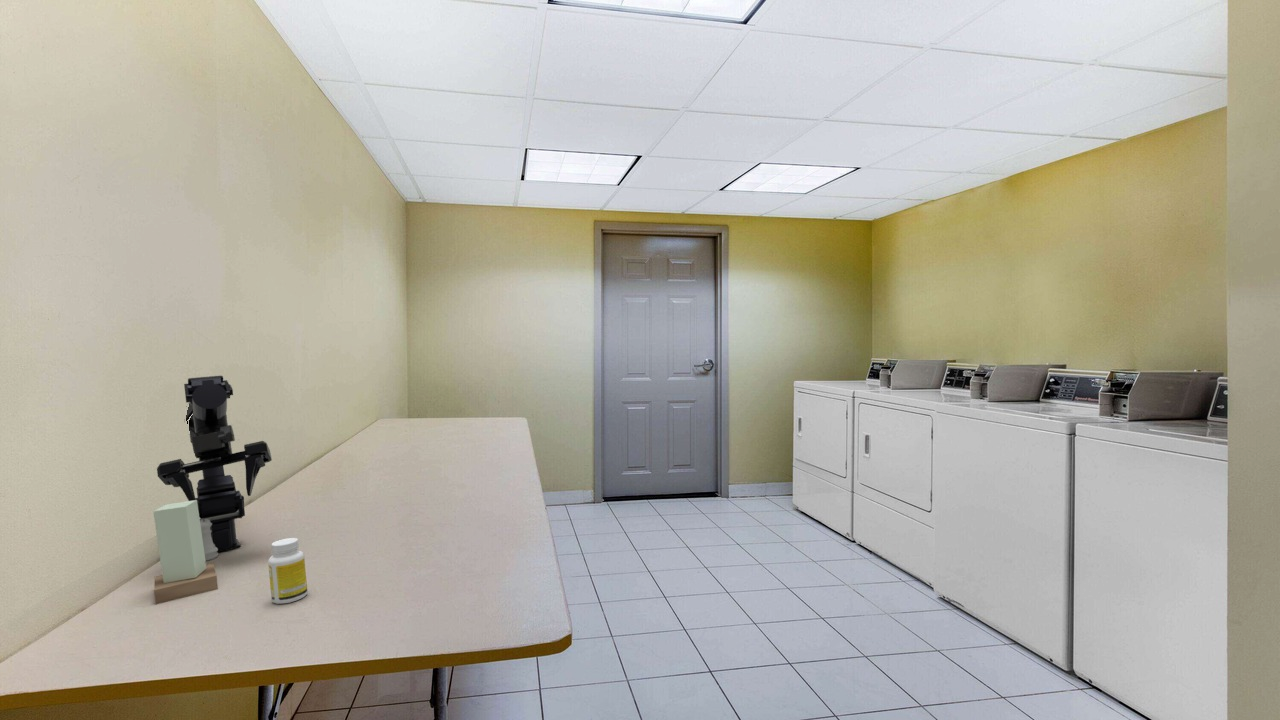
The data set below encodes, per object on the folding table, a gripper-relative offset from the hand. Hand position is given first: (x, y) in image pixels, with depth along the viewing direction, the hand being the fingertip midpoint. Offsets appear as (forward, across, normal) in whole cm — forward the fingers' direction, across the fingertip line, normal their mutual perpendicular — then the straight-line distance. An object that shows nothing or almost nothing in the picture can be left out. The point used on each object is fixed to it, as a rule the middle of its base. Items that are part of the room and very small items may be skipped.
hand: (222, 502), depth 127 cm
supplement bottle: (+26, +10, -15) cm, 31 cm away
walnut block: (+16, -7, -1) cm, 17 cm away
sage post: (+13, -7, -2) cm, 15 cm away
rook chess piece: (+6, -7, +15) cm, 18 cm away
